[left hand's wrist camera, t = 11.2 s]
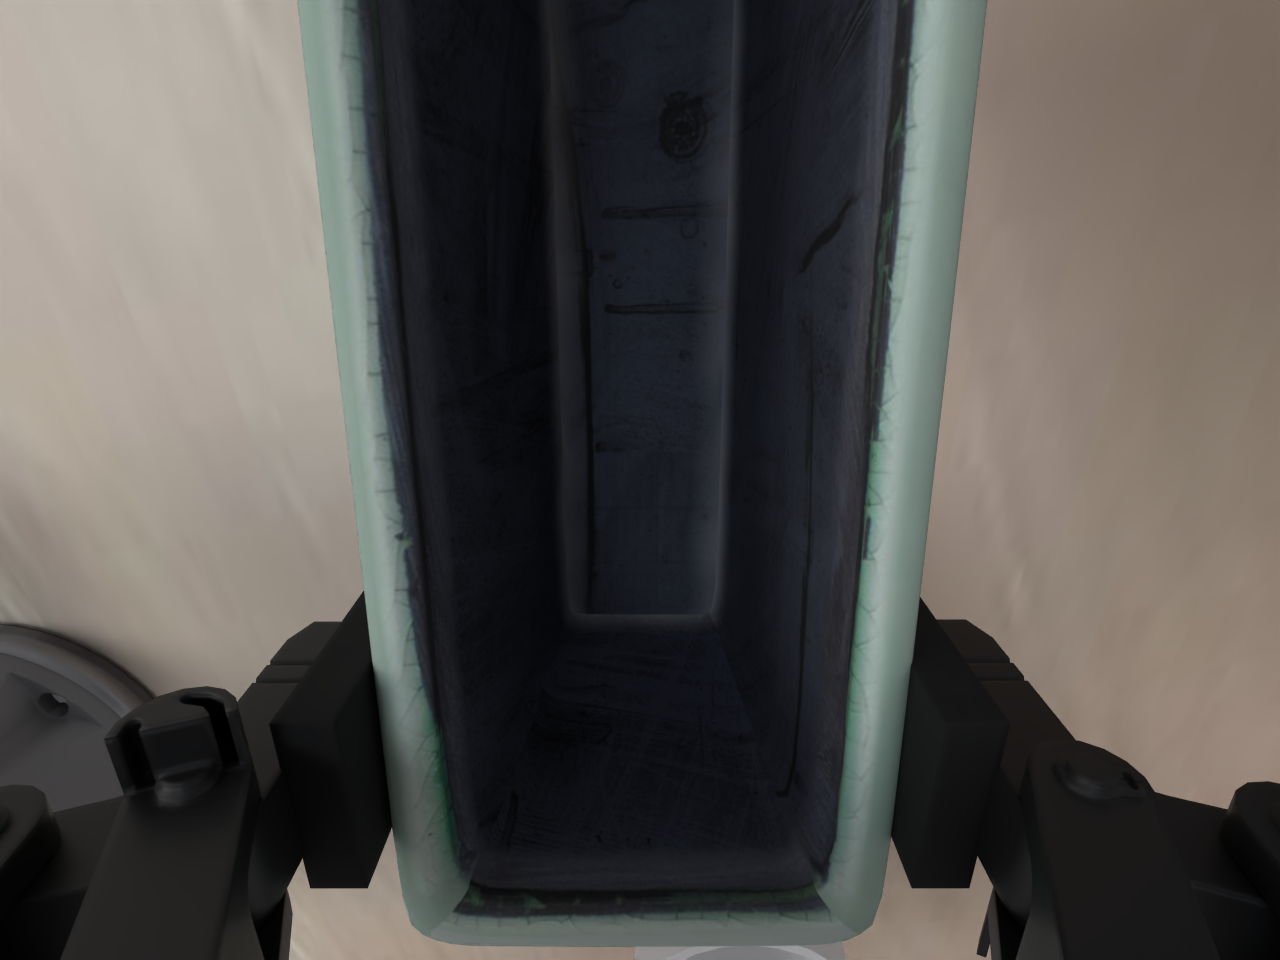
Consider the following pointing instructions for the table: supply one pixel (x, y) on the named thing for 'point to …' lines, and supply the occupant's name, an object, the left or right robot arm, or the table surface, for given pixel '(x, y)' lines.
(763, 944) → the planter
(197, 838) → the left robot arm
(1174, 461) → the table surface
